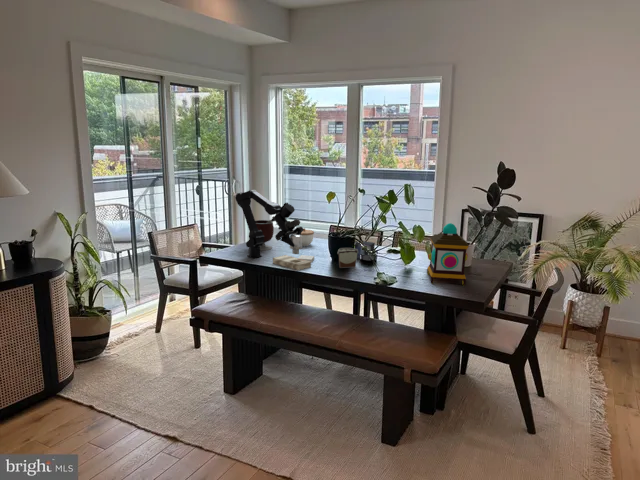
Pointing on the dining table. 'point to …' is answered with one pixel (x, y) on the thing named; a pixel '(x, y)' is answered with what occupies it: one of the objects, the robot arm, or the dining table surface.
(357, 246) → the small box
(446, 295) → the dining table surface
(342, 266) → the food container
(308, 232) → the lidded bowl
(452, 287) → the dining table surface
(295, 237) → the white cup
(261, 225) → the mate gourd
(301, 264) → the plate
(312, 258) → the block
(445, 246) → the decorative lantern
